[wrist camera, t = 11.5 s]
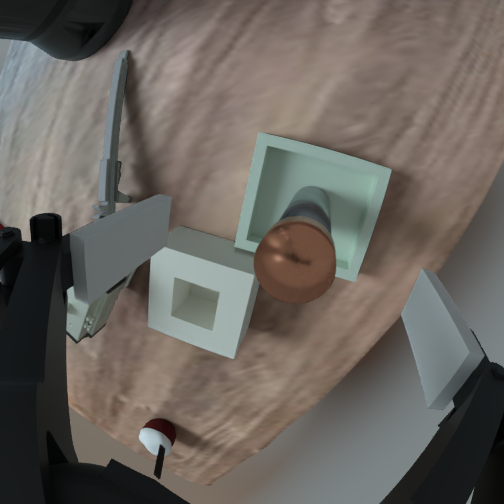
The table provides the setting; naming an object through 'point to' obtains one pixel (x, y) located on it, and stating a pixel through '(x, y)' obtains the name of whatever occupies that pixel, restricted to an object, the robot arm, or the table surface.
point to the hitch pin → (298, 250)
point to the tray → (319, 175)
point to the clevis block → (202, 291)
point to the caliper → (112, 144)
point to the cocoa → (158, 440)
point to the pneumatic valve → (92, 311)
